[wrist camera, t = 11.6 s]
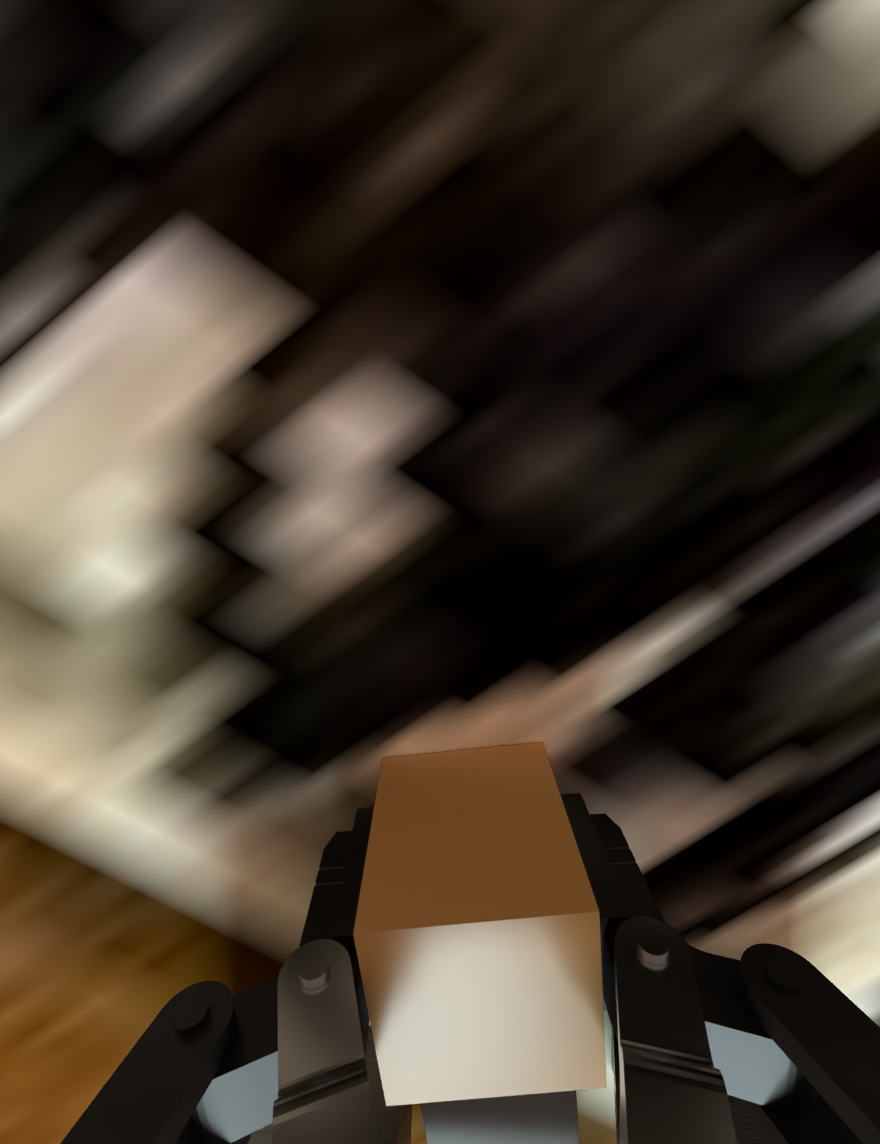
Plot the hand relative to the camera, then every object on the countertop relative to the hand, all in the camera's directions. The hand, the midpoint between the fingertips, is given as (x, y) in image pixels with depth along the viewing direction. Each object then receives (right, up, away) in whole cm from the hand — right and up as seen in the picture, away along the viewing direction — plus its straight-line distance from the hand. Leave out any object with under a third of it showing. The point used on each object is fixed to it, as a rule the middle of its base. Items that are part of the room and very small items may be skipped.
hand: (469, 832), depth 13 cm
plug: (+1, -5, +2) cm, 5 cm away
